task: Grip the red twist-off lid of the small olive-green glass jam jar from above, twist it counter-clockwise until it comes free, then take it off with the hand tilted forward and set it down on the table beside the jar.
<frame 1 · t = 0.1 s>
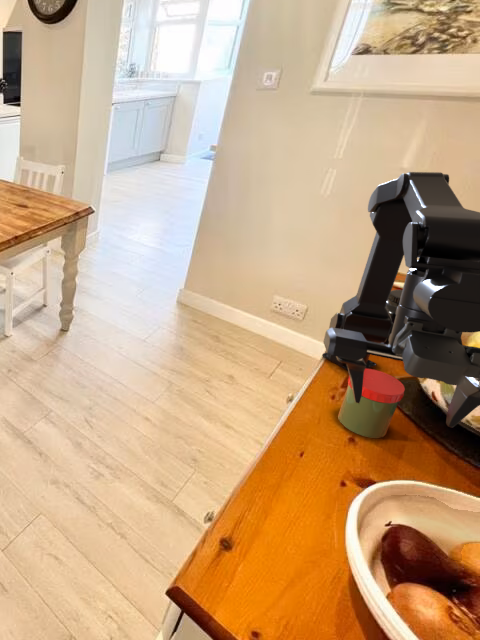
hand: (400, 413, 57), 15 cm above the sideboard, tool pointing down, fingers open, 9 cm apart
jam jar: (361, 423, 73), on the sideboard
lid: (376, 382, 69), point 10 cm above the sideboard, screwed on, not yet turned
supplement bottle: (389, 340, 92), on the sideboard
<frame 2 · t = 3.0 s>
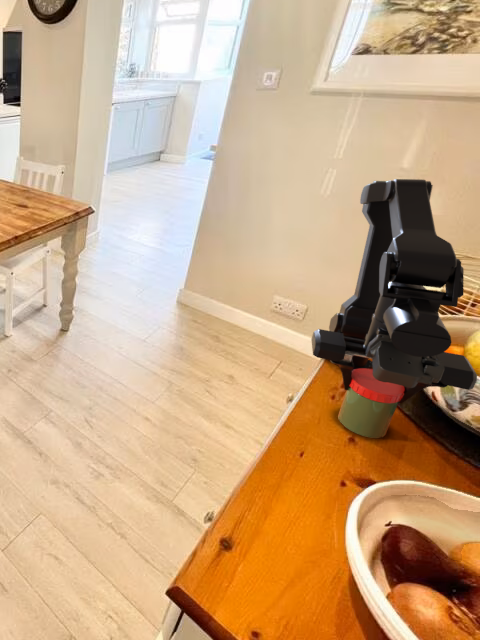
hand: (371, 395, 71), 7 cm above the sideboard, tool pointing down, fingers closed on jam jar, lid, 6 cm apart
jam jar: (361, 423, 73), on the sideboard, touching gripper
lid: (376, 382, 69), point 10 cm above the sideboard, screwed on, not yet turned, touching gripper
everything else where it was.
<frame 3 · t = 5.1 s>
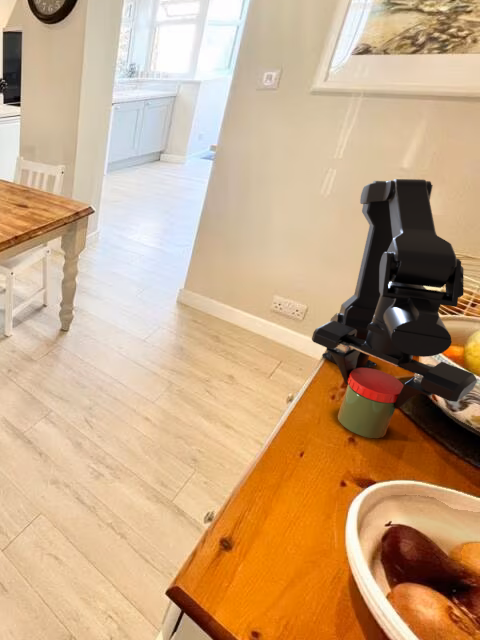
hand: (371, 395, 71), 7 cm above the sideboard, tool pointing down, fingers closed on lid, 6 cm apart
jam jar: (360, 424, 73), on the sideboard
lid: (376, 382, 69), point 10 cm above the sideboard, off its thread, touching gripper
everything else where it was.
when the fingers open (7 cm above the sideboard, at t = 5.6 s): lid stays where it is, resting on jam jar.
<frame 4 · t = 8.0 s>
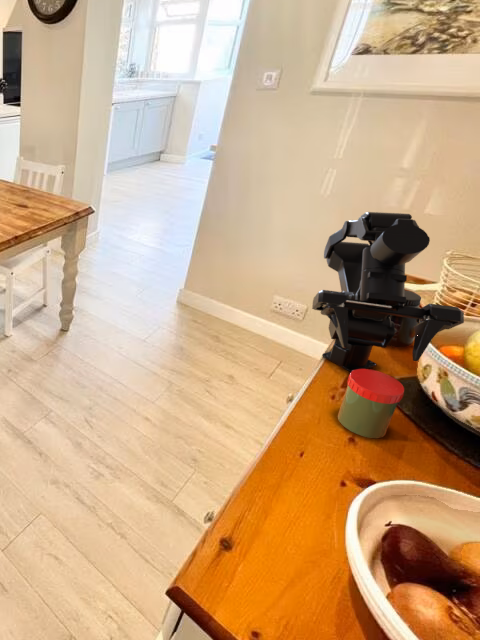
hand: (378, 354, 72), 12 cm above the sideboard, tool tilted 45°, fingers open, 9 cm apart
jam jar: (360, 424, 73), on the sideboard, touching lid
lid: (375, 383, 69), point 10 cm above the sideboard, off its thread, touching jam jar
everything else where it was.
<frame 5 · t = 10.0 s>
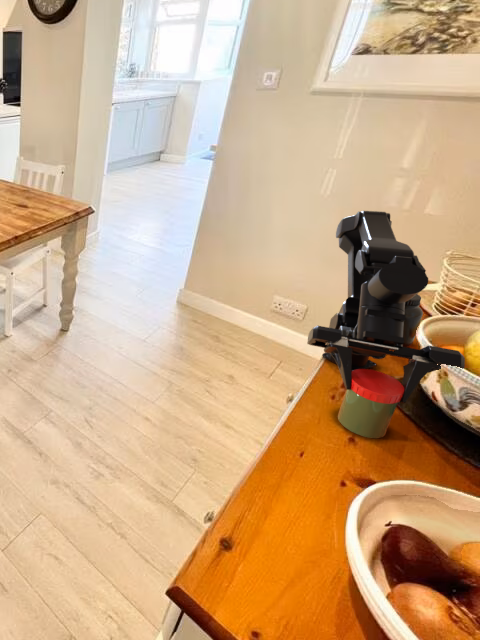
hand: (374, 396, 69), 8 cm above the sideboard, tool tilted 45°, fingers closed on lid, 6 cm apart
jam jar: (360, 424, 73), on the sideboard, touching gripper, lid
lid: (375, 383, 69), point 10 cm above the sideboard, off its thread, touching gripper, jam jar
everything else where it was.
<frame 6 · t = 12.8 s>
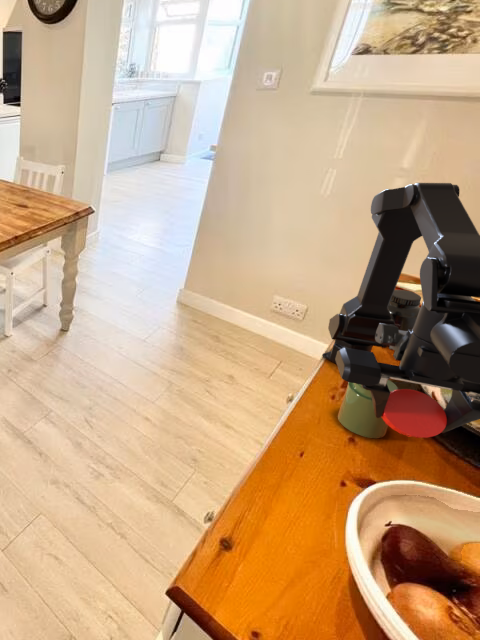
hand: (407, 423, 61), 10 cm above the sideboard, tool pointing down, fingers closed on lid, 6 cm apart
jam jar: (360, 424, 73), on the sideboard
lid: (412, 412, 60), point 13 cm above the sideboard, tilted 44°, off its thread, touching gripper
everything else where it was.
when the fingers open (1 cm above the sideboard, at t = 15.4 s): lid drops 2 cm, point 1 cm above the sideboard.
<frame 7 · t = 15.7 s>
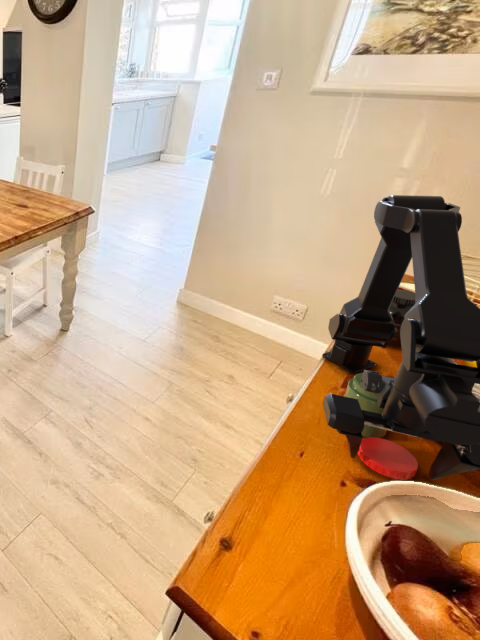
hand: (390, 466, 65), 1 cm above the sideboard, tool pointing down, fingers open, 9 cm apart
lid: (387, 455, 66), point 1 cm above the sideboard, off its thread
everything else where it was.
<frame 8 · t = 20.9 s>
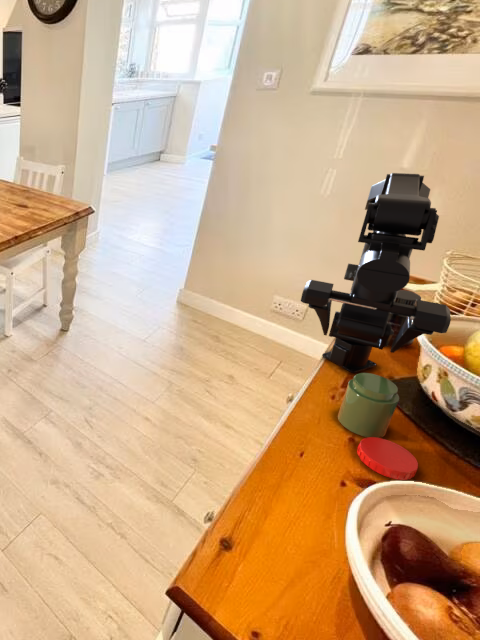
hand: (357, 342, 76), 12 cm above the sideboard, tool pointing down, fingers open, 9 cm apart
nothing on the sideboard moved.
at the end: lid came off its thread; lid point 1.5 cm above the sideboard; the gripper is holding nothing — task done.
